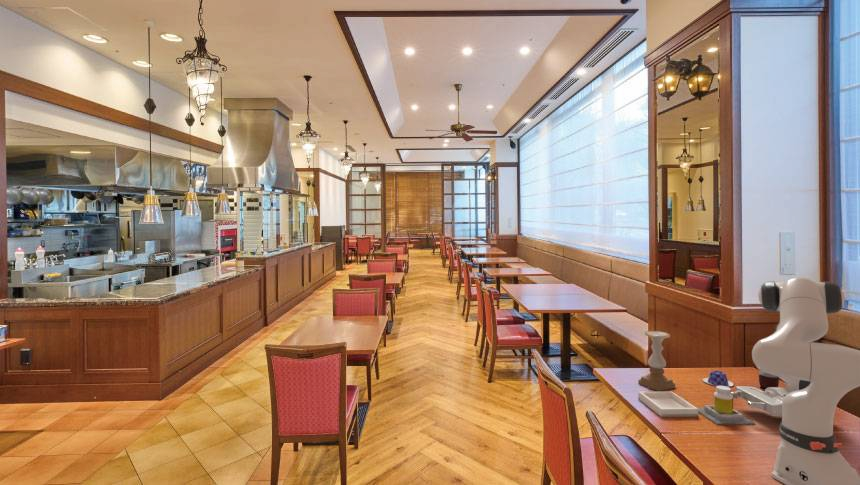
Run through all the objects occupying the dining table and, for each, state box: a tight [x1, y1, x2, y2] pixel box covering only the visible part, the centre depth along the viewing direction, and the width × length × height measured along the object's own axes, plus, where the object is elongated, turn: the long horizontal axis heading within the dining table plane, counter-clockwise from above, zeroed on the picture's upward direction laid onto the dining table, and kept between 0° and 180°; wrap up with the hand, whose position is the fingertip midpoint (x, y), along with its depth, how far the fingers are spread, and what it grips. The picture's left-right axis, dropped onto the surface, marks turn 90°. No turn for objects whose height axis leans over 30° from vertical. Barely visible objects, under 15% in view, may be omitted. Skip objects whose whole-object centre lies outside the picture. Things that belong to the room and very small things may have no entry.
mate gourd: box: [758, 371, 780, 390], centre depth 195 cm, size 8×8×15 cm
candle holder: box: [637, 330, 676, 391], centre depth 200 cm, size 11×11×24 cm
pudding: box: [702, 370, 734, 388], centre depth 204 cm, size 12×12×5 cm
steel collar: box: [697, 404, 756, 426], centre depth 168 cm, size 14×14×2 cm
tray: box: [638, 390, 699, 418], centre depth 177 cm, size 18×14×3 cm
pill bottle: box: [713, 385, 734, 414], centre depth 168 cm, size 6×6×11 cm
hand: (740, 399), depth 167 cm, fingers open, 8 cm apart
